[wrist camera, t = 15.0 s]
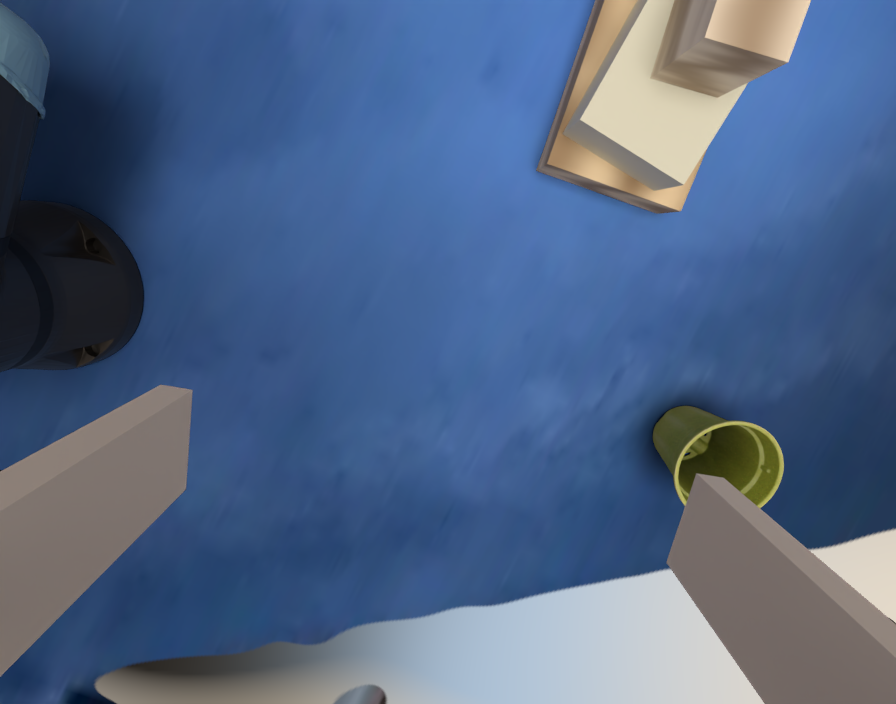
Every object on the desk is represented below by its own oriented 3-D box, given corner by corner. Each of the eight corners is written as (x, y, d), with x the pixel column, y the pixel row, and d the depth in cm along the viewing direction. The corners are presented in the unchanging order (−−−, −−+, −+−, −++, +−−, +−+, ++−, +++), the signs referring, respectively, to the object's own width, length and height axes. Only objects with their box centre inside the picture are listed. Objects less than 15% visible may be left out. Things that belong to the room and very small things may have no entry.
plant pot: (640, 481, 51) (680, 530, 43) (630, 399, 49) (670, 433, 41) (728, 465, 51) (785, 510, 42) (722, 381, 49) (782, 412, 40)
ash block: (650, 78, 33) (704, 37, 27) (675, -2, 32) (738, -67, 25) (717, 97, 34) (788, 62, 27) (744, 19, 33) (825, -39, 26)
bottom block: (535, 171, 44) (547, 163, 39) (610, -47, 40) (634, -85, 35) (654, 213, 45) (680, 211, 40) (739, 6, 41) (779, -25, 36)
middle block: (562, 134, 39) (579, 119, 34) (669, -57, 36) (705, -103, 31) (653, 190, 40) (683, 185, 35) (764, 11, 37) (814, -23, 32)
